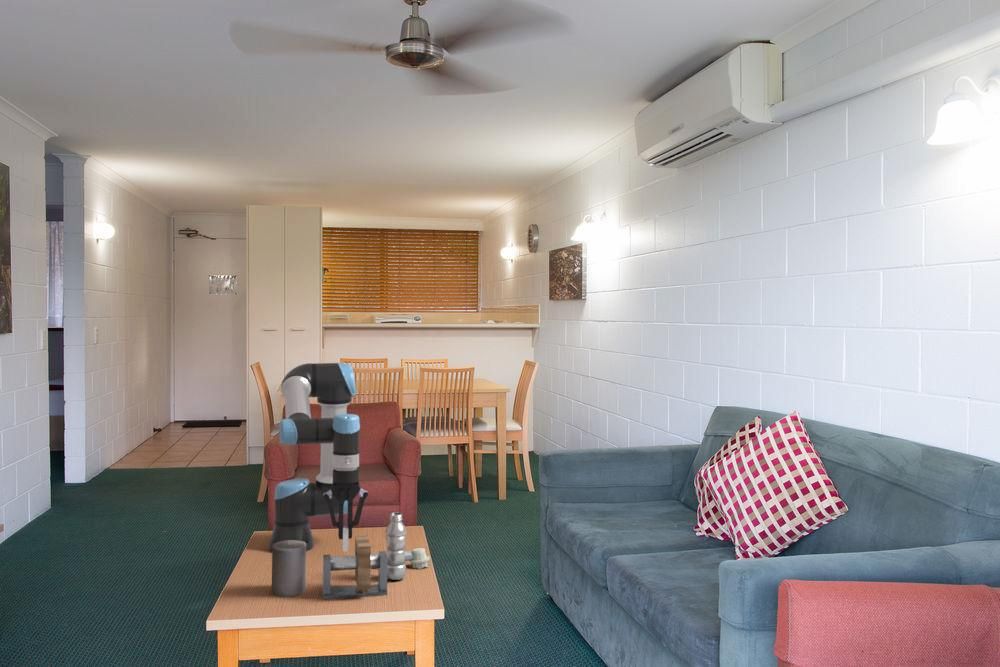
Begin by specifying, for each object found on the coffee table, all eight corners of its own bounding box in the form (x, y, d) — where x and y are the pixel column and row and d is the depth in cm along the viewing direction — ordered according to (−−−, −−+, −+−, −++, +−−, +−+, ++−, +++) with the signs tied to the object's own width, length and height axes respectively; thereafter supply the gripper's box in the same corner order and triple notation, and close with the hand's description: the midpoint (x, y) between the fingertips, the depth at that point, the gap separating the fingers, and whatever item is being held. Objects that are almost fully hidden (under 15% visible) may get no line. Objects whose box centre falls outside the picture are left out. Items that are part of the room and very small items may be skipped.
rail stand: (322, 591, 227) (322, 553, 227) (384, 587, 231) (385, 549, 231) (323, 599, 220) (323, 560, 220) (387, 594, 225) (387, 556, 224)
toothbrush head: (350, 553, 252) (427, 542, 254) (353, 574, 252) (430, 562, 254) (348, 558, 247) (427, 547, 249) (351, 579, 247) (430, 567, 249)
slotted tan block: (354, 576, 232) (355, 536, 231) (366, 575, 232) (367, 535, 232) (357, 589, 220) (358, 547, 220) (370, 588, 221) (370, 546, 221)
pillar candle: (264, 591, 226) (265, 540, 226) (293, 583, 234) (294, 533, 233) (283, 600, 220) (284, 547, 220) (312, 591, 227) (313, 540, 227)
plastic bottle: (395, 574, 243) (396, 510, 243) (410, 579, 239) (411, 513, 239) (380, 579, 238) (380, 514, 238) (395, 584, 234) (395, 517, 234)
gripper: (323, 471, 219) (322, 555, 220) (370, 469, 223) (369, 552, 223) (322, 466, 227) (321, 547, 227) (367, 465, 230) (366, 544, 230)
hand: (345, 549), depth 225 cm, fingers closed
